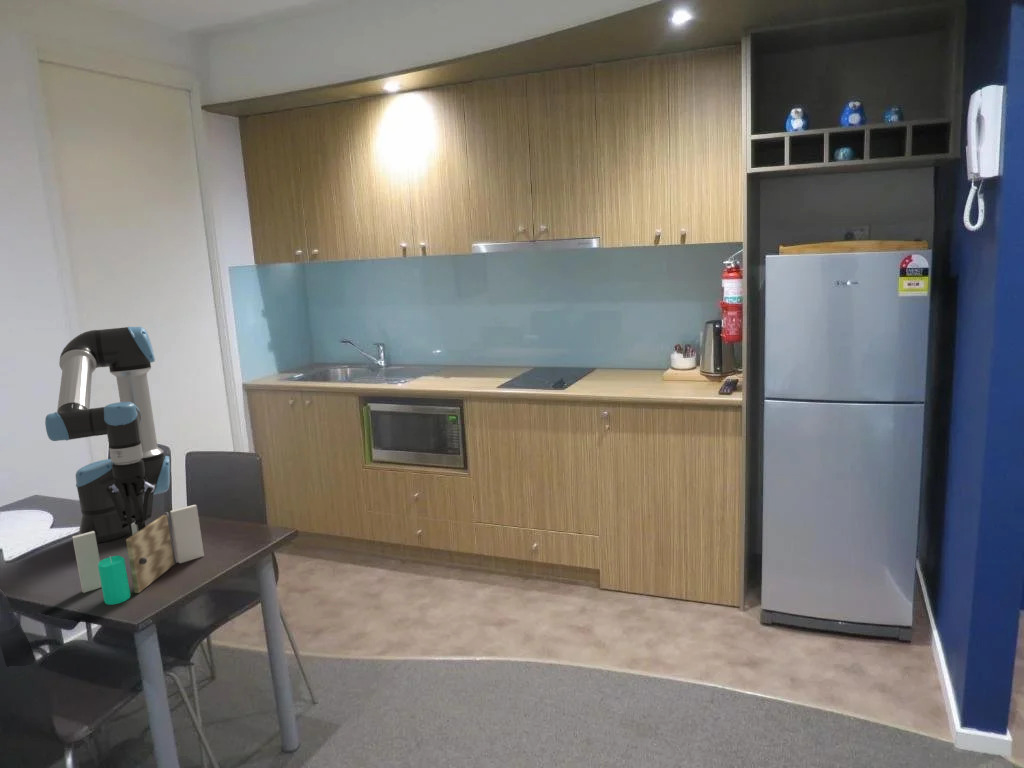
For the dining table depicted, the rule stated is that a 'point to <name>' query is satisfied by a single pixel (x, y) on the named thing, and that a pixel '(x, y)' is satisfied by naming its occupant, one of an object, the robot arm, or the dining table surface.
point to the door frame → (184, 535)
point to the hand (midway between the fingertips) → (139, 545)
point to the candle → (114, 580)
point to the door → (150, 553)
